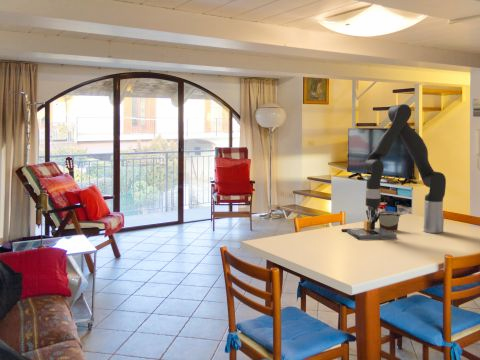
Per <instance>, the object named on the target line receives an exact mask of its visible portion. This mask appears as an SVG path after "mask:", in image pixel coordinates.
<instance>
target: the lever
mask: <svg viewBox="0 0 480 360" xmlns="http://www.w3.org/2000/svg"><path fill="white" fill-rule="evenodd" d="M363 228H364V229H365V231H366V232H368V233H372V230H371V229H370V222H369V220H368V219H363Z"/></svg>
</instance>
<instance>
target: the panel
mask: <svg viewBox="0 0 480 360" xmlns="http://www.w3.org/2000/svg"><path fill="white" fill-rule="evenodd" d="M346 229H347V230H349V231H350V232H352V233H354V234H355V235H357V236H358V237H359V239H358V240H360V241H362V240H363V241H364V240H367V241H368V240H389V239H390V240H391V239H392V240H393V239H395V238H398V237H397V234H396V233H394V232H393V231H388V230H386V229H384V228H380V227H375V229H374V230H372V233H368V232H366V231H365V229H364V227H361V228H360V227H358V228H355V227H354V228H346Z"/></svg>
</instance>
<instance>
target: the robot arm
mask: <svg viewBox="0 0 480 360" xmlns="http://www.w3.org/2000/svg"><path fill="white" fill-rule="evenodd" d="M387 115H388V116H387V117H388V119H389V121H390V122H391V124H390V126H389V127H388V129H387V130H386V131H385V132H384V133H383V134H382V136H381V137H380V138H379V139H378V142H377V144H376V146H375V147H374V150H373V151H372V152H371V153H370V154H369V156H368V157H367V159H366V160H365V161H364V169H365V171H366V172H367V173H371V174H370V176H369V177H367V179H366V190H365V206H366V207H367V209H365V214H366V217H367V220H369V222H370V229H371V230H374V229H375V228H376V223H378V222H379V216H380V214H378V213H379V211H378V208H379V207H380V206H381V197H382V196H381V195H382V194H381V193H382V192H381V182H382V181H381V180H382V177H383V173H384V166H385V165H384V163H383V161H381V160H382V159H385V158H386V157H387V156H388V154H389V152H390V150H391V147H392V146H393V144H394V143H395V140H396V139H397V137H398V135H399V136H400V138H401V140H402V142H403V143H404V146H405V147H406V150H407V152H408V154H409V155H410V157H411V159H412V161H413V163H414V164H415V166H416V168H417V171H418V173H419V175H420V178H421V181H422V183H423V184H424V186H426V187H427V188H429V190H428V191H429V192H428V193H427V194H425V196H424V207H423V208H424V209H423V211H424V213H423V232H425V233H430V234H440V233H444V223H445V221H444V220H445V215H444V214H443V209H444V207H443V206H444V205H443V204H444V197H445V195H446V185H447V178H446V176H445V174H444V173H442V172H440V171H435V170H434V169H433V167H432V164H430V162H429V152H428V147H427V145H426V143H425V141H424V139H423V138H422V137H421V135H419V133H418V132H416V131H415V130H414V129H413V128H412V127H411V126H410V124H409V123H408V122H409V120H410V118H411V116H412V109H411V107H410V106H409V105H408V104H402V103H401V104H395V105H392V106H391V107H390V108H388V110H387Z"/></svg>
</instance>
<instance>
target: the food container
mask: <svg viewBox="0 0 480 360" xmlns="http://www.w3.org/2000/svg"><path fill="white" fill-rule="evenodd" d="M378 214H380V216H379V219H378V222H379V223H378V225H379V228H384V229H386V230H388V231H390V232H395V231H396V232H397V231H398V228H399V227H398V226H399V221H400V217H401V214H400V212H397V211H392V210H385V211H384V210H382V211H378Z"/></svg>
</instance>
